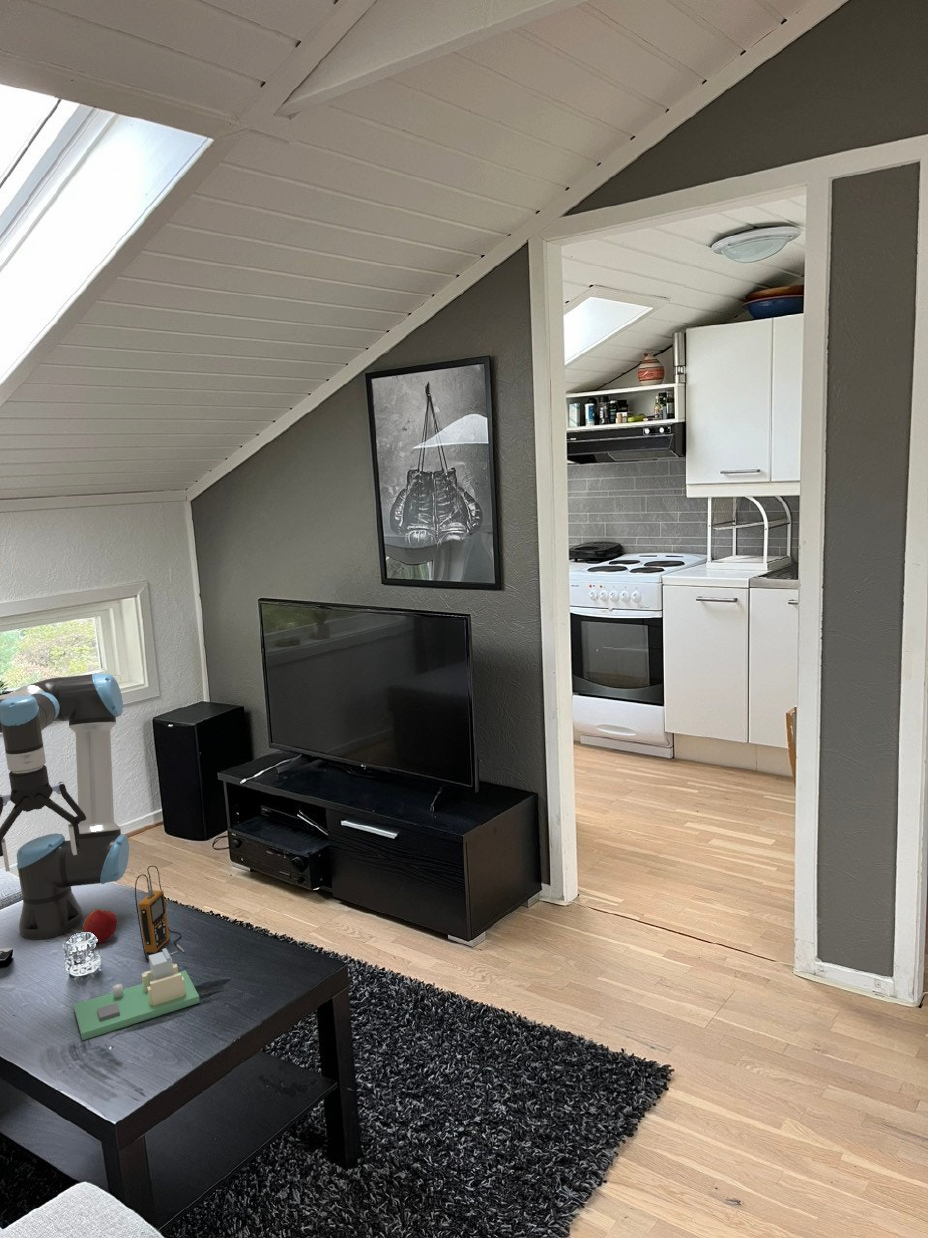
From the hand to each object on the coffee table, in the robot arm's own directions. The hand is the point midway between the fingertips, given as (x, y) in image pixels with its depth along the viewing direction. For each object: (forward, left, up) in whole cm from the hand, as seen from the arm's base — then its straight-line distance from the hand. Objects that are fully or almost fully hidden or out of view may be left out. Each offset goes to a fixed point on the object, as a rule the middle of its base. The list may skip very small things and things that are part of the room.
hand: (41, 861), depth 209 cm
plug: (+16, +20, -30) cm, 39 cm away
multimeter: (-7, +26, -32) cm, 42 cm away
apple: (-21, +12, -32) cm, 40 cm away
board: (+16, +14, -32) cm, 38 cm away
